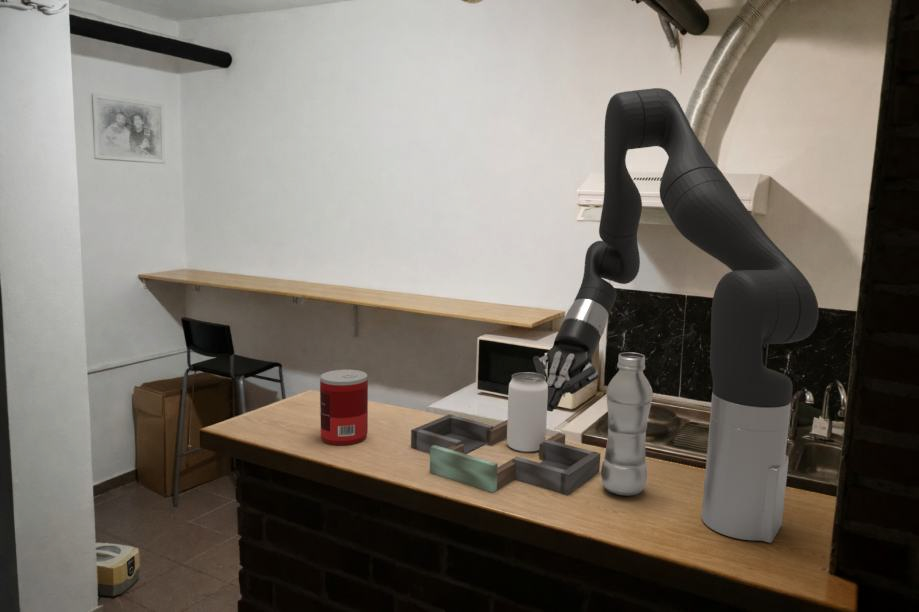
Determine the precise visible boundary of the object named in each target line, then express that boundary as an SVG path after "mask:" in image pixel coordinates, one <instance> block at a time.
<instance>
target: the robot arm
mask: <svg viewBox="0 0 919 612" xmlns="http://www.w3.org/2000/svg"><path fill="white" fill-rule="evenodd" d="M603 137H604V139H603V140H604V144H603V145H604V147H603V149H604V151H603V167H604V168H603V173H604V178H603V179H604V180H603V181H604V182H603V183H604V189H603V191H604V192H603V202H602V209H601V214H600V221H599V227H598V235H599V238H600V239H601V240H597V241H595V242H593V243H591V244H590V245H589V246H588V248H587V250H586V252H585V253H586V254H585V258H584V270H583V276H582V281H581V284H580V287H579V289H578V291H577V294H576V296H575V298H574V300H573V302H572V304H571V305H570V307H569V309H568V311H567V312H566V314H565V317H564V319H563V320H562V323H561V325H560V327H559V329H558V332H557V334H556V336H555V338H554V341H553V345H552V347H551V348H550V349H549V350H548V351H547V352H546V355H543V356H541V357H540V356H538V355H535V356H533V358H532V361H533V364H534V368H535V371H536V373H538V374H542V375H544V376H545V377H546V379H545V381H546V383H547V386H548V400H547V412H553V411H554V410H556V409H557V408H558V407H559V404H560V402H561V400H562V397H563V396H564V395H565V394H567V393H569V394H571V395H574V394H575V393H577V392H579V391H580V390H582V389H583V388H585V387H587V386H588V385H589V384H591V383H593V382H594V381H595V380H597V379H598V378H599V372H598V371H597V369H596V367H595V366H594V365H593V359H592V358H594V355H595V353H596V351H597V348H598V345H599V344H600V340H601V338H602V336H603V335H604V332H605V329H606V326H607V323H608V319H609V317H610V314H611V311H612V309H613V307H614V305H615V302H616V300H617V290H616V288H615V287H614V286H613V284H612V283H610V282H609V281H611V282H614V283H618V284H620V285H627V284H629V283H631V282H633V281H634V280H635V279H636V278H637V276H638V273H639V271H640V267H641V265H640V264H641V260H640V259H641V258H640V251H639V245H638V230H639V226H640V220H641V217H642V212H643V211H642V209H643V202H642V197H641V194H640V190H639V188H638V187H637V185H636V183H635V181H634V180H633V178H632V176H631V175H630V173H629V172H630V171H629V170H628V168H627V163H626V156H627V154H628V151H629V150H635V149H645V148H652V147H659V148H661V149H663V150H664V151H665V152H666V155H667V156H668V158H667V161H666V165H665V168H664V170H663V172H662V176H661V179H660V185H659V198H660V202H661V204H662V206H663V208H664V210H665V212H666V213H667V216H669V218H670V220H671V222H672V223H673V225H674V227H675V228H676V229H677V231H678V232H679V233H680V234H681V235H682V237H684V238H685V240H687V241H689V242H690V243H691V244H693V245H694V246H695V247H697V248H698V249H700V250H701V251H703V252H704V253H707V254H708V255H709V256H711V257H712V258H714V259H716V260H717V261H719V262H720V263H721V264H723V265H725V266H726V267H727V268H728V269H730V270H731V271H729V272H727V273H725V274H724V275H723V276H721V278H720V280H719V281H718V282H717V285H716V287H715V290H714V292H713V296H712V305H711V316H710V317H711V319H710V351H709V366H710V372H711V376H712V393H711V405H710V416H709V427H708V438H707V439H708V440H707V447H706V448H707V449H706V462H705V472H704V473H705V474H704V484H703V485H704V486H703V497H702V503H701V505H702V509H701V520H702V521H703V522H702V523H704V524H705V525H706V526H707V527H708V528H710V529H711V530H713V531H714V532H716V533H719V534H720V535H724V536H727V537H730V538H733V539H734V538H735V539H739V540H744V541H746V540H747V541H760V542H761V541H762V542H765V543H769V544H771V543H773V541H774V539H775V538H776V536H777V534H778V532H779V531H780V529H781V528H782V526H783V525H782V524H783V515H784V514H783V513H784V507H785V499H786V497H785V496H786V490H787V489H786V488H787V480H788V468H789V456H788V455H786V454H787V445H788V436H789V434H788V433H789V427H790V426H789V425H790V418H791V406H792V399H793V390H794V389H793V381H792V380H791V378H790V377H789V376H787V375H786V374H784V373H782V372H779V371H777V370H774V369H771V368H768V367H766V366H765V365H764V362H763V359H764V358H763V345H777V344H778V345H782V344H791V343H796V342H800V341H803V340H805V339H807V338H809V337H810V336H811V335H812V334H813V333H814V332H815V330H816V328H817V325H818V321H819V313H820V312H819V304H818V303H819V302H818V299H817V297H816V293H815V291H814V289H813V287H812V285H811V283H810V281H808V279H807V278H806V277H805V275H804V273H802V271H801V270H800V269H799V268H798V267H797V266H796V265H795V264H794V263H793V262H792V261H791V260H790V259H789V258H788V257H787V255H786V254H785V253H784V252H783V251H782V250H781V249H780V248H779V247H778V246H777V245H776V244H775V242H773V240H771V238H770V237H769V235H767V233H765V231H764V229H763V228H762V227H761V226H760V224H759V223H758V222H757V219H755V217H754V216H753V215H752V213H751V212H750V211H749V209H748V207H747V206H745V204H744V203H743V202H742V200H741V199H740V197H739V196H738V194H737V193H736V191H735V189H734V188H733V186H732V185H731V184H730V182H729V180H728V179H727V178H726V176H725V175H724V174H723V172H722V171H721V169H720V168H719V167H718V166H717V165H716V163H715V162H714V160H713V159H712V158H711V156H710V155H709V154H708V152H707V151H706V149H705V148H704V146H703V144H702V143H701V141H700V140H699V138H698V136H697V135H696V133H695V131H694V129H693V127H692V125H691V123H690V121H689V120H688V118H687V116H686V114H685V112H684V110H683V108H682V106H681V104H680V103H679V100H678V99H677V98H676V96H675V95H674V93H673V92H671V91H669V90H668V89H666V88H661V87H659V88H658V87H653V88H645V89H644V88H643V89H636V90H628V91H627V90H626V91H622V92H617V93H615V94H613V95H612V96H611V97H610V99H609V101H608V103H607V107H606V111H605V117H604V136H603ZM548 364H549V375H547V373H546V369H548Z"/></svg>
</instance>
